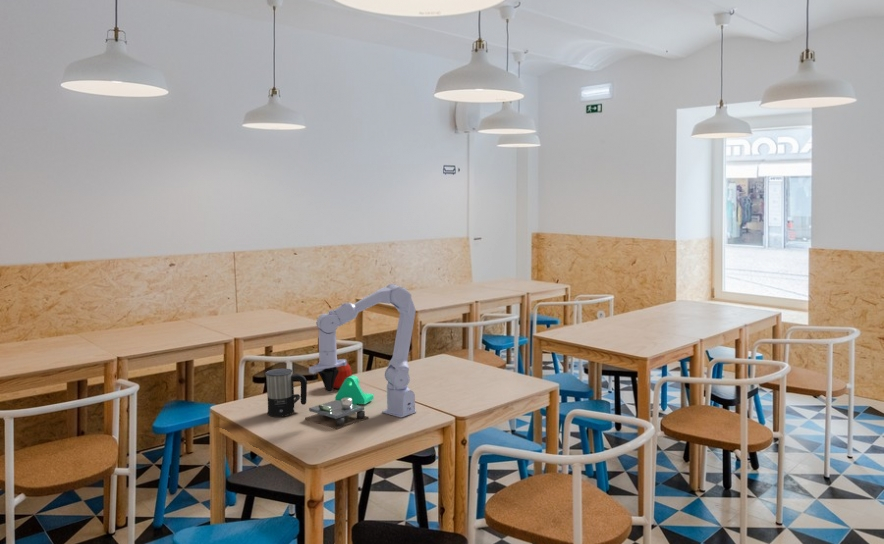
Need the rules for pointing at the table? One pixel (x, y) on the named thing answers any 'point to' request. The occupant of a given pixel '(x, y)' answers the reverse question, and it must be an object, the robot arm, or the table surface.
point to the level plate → (337, 408)
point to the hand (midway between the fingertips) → (329, 390)
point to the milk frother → (283, 392)
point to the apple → (342, 375)
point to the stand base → (333, 421)
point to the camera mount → (353, 391)
